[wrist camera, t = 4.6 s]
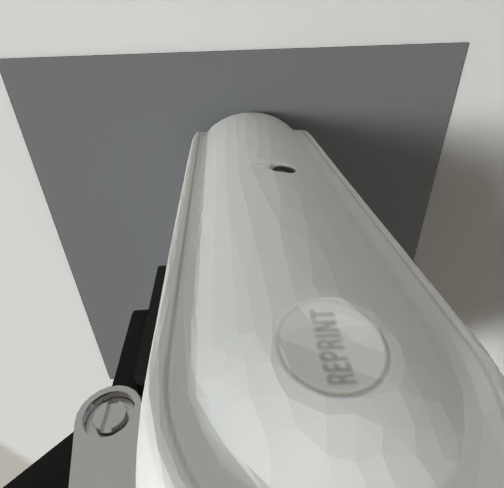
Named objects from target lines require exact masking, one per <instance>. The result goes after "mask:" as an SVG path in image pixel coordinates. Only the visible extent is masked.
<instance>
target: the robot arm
mask: <svg viewBox="0 0 504 488" xmlns="http://www.w3.org/2000/svg"><path fill="white" fill-rule="evenodd" d="M166 267H167V265H164V266H158V269H157V273H156V278H155V282H154V287H153V291H152V296H151V300H150V305H149V309H145V310H134V311H133V313H132V316H131V319H130V323H129V326H128V330H127V334H126V337H125V341H124V345H123V348H122V352H121V356H120V359H119V363H118V367H117V370H116V374H115V378H114V381H113V385H112V386H111V387H107V388H105V389H102V390H100V391H98V392H96V393H95V394H93V395H92V396H90V397H89V398H88V399H87V400H86V401H85V402H84V404H83V405H82V406H81V408H80V410H79V411H78V413H77V416H76V420H75V425H74V432H73V433H71V434H70V435H69V436H68V437H66V438H65V439H64V440H63V441H61V442H60V443H59V444H58V445H56V446H55V447H54V448H52V449H51V450H50V451H49V452H47V453H46V454H45V455H44V456H42V457H41V458H40V459H39V460H37V461H36V462H35V463H34V464H32V465H31V466H30V467H28V468H27V469H26V470H25V471H23V472H22V473H21V474H20V475H18V476H17V477H16V478H15V479H13V480H12V481H11V482H10V483H8V484H7V485H6V486H4V487H3V488H136V456H137V440H138V430H139V420H140V410H141V402H142V396H143V391H144V385H145V380H146V374H147V368H148V363H149V357H150V352H151V346H152V341H153V336H154V331H155V326H156V321H157V315H158V310H159V305H160V300H161V294H162V289H163V284H164V278H165V273H166Z"/></svg>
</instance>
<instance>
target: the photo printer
mask: <svg viewBox="0 0 504 488" xmlns="http://www.w3.org/2000/svg"><path fill="white" fill-rule="evenodd" d="M136 488H504V376H503V375H502V373H501V372H500V370H499V369H498V367H497V366H496V364H495V363H494V361H493V360H492V358H491V357H490V355H489V354H488V352H487V351H486V350H485V348H484V347H483V346H482V344H481V343H480V342H479V341H478V339H477V338H476V337H475V336H474V334H473V333H472V332H471V331H470V330H469V328H468V327H467V326H466V325H465V324H464V323H463V321H462V320H461V319H460V318H459V317H458V315H457V314H456V313H455V312H454V311H453V309H452V308H451V307H450V306H449V305H448V303H447V302H446V301H445V300H444V299H443V297H442V296H441V295H440V294H439V292H438V291H437V290H436V289H435V288H434V286H433V285H432V284H431V283H430V282H429V280H428V279H427V278H426V277H425V275H424V274H423V273H422V272H421V271H420V270H419V268H418V267H417V266H416V265H415V264H414V262H413V261H412V260H411V258H410V257H409V256H408V254H407V253H406V252H405V250H404V249H403V248H402V247H401V246H400V244H399V243H398V242H397V241H396V240H395V238H394V237H393V236H392V235H391V234H390V232H389V231H388V230H387V229H386V227H385V226H384V225H383V224H382V223H381V221H380V220H379V219H378V218H377V216H376V215H375V214H374V213H373V212H372V210H371V209H370V208H369V207H368V205H367V204H366V203H365V202H364V201H363V199H362V198H361V197H360V196H359V194H358V193H357V192H356V191H355V189H354V188H353V187H352V186H351V184H350V183H349V182H348V181H347V180H346V178H345V177H344V176H343V175H342V173H341V172H340V171H339V170H338V168H337V167H336V166H335V165H334V163H333V162H332V161H331V160H330V158H329V157H328V156H327V155H326V153H325V152H324V151H323V149H322V148H321V147H320V146H319V144H318V143H317V142H316V141H315V139H314V138H313V137H312V136H311V135H310V134H309V133H308V132H307V131H305V130H293V129H291V128H290V127H289V126H288V125H287V124H286V123H284V122H283V121H281V120H280V119H278V118H276V117H274V116H271V115H267V114H263V113H255V112H249V113H239V114H235V115H232V116H229V117H227V118H225V119H223V120H221V121H219V122H218V123H216V124H214V125H213V126H212V127H211V128H210V130H209V131H207V132H197V133H196V134H195V136H194V138H193V140H192V143H191V148H190V152H189V156H188V161H187V166H186V171H185V177H184V182H183V186H182V191H181V196H180V201H179V206H178V211H177V216H176V221H175V226H174V231H173V236H172V241H171V246H170V252H169V257H168V262H167V267H166V273H165V278H164V284H163V289H162V294H161V300H160V305H159V310H158V315H157V321H156V326H155V331H154V336H153V341H152V346H151V352H150V357H149V363H148V368H147V374H146V380H145V385H144V391H143V396H142V402H141V410H140V420H139V430H138V440H137V456H136Z"/></svg>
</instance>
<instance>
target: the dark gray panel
mask: <svg viewBox="0 0 504 488" xmlns="http://www.w3.org/2000/svg"><path fill="white" fill-rule="evenodd" d="M467 47H468V42H462V43H434V44H405V45H377V46H349V47H320V48H292V49H263V50H235V51H207V52H178V53H150V54H121V55H93V56H65V57H36V58H8V59H0V73H1V76H2V79H3V81H4V84H5V87H6V90H7V93H8V95H9V98H10V101H11V104H12V106H13V109H14V112H15V115H16V118H17V120H18V123H19V126H20V129H21V132H22V134H23V137H24V140H25V143H26V146H27V148H28V151H29V154H30V157H31V159H32V162H33V165H34V168H35V171H36V173H37V176H38V179H39V182H40V185H41V187H42V190H43V193H44V196H45V199H46V201H47V204H48V207H49V210H50V212H51V215H52V218H53V221H54V224H55V226H56V229H57V232H58V235H59V238H60V240H61V243H62V246H63V249H64V252H65V254H66V257H67V260H68V263H69V265H70V268H71V271H72V274H73V277H74V279H75V282H76V285H77V288H78V291H79V293H80V296H81V299H82V302H83V305H84V307H85V310H86V313H87V316H88V318H89V321H90V324H91V327H92V330H93V332H94V335H95V338H96V341H97V344H98V346H99V349H100V352H101V355H102V358H103V360H104V363H105V366H106V369H107V372H108V374H109V377H110V379H114V378H115V374H116V370H117V367H118V363H119V359H120V356H121V352H122V348H123V345H124V341H125V337H126V334H127V330H128V326H129V323H130V319H131V316H132V313H133V311H134V310H145V309H149V305H150V300H151V296H152V291H153V287H154V282H155V278H156V273H157V269H158V266H164V265H167V262H168V257H169V252H170V246H171V241H172V236H173V231H174V226H175V221H176V216H177V211H178V206H179V201H180V196H181V191H182V186H183V182H184V177H185V171H186V166H187V161H188V156H189V152H190V148H191V143H192V140H193V138H194V136H195V134H196V133H197V132H207V131H209V130H210V128H211V127H212V126H213V125H214V124H216V123H218V122H219V121H221V120H223V119H225V118H227V117H229V116H232V115H235V114H239V113H249V112H255V113H263V114H267V115H271V116H274V117H276V118H278V119H280V120H281V121H283V122H284V123H286V124H287V125H288V126H289V127H290V128H291V129H293V130H305V131H307V132H308V133H309V134H310V135H311V136H312V137H313V138H314V139H315V141H316V142H317V143H318V144H319V146H320V147H321V148H322V149H323V151H324V152H325V153H326V155H327V156H328V157H329V158H330V160H331V161H332V162H333V163H334V165H335V166H336V167H337V168H338V170H339V171H340V172H341V173H342V175H343V176H344V177H345V178H346V180H347V181H348V182H349V183H350V184H351V186H352V187H353V188H354V189H355V191H356V192H357V193H358V194H359V196H360V197H361V198H362V199H363V201H364V202H365V203H366V204H367V205H368V207H369V208H370V209H371V210H372V212H373V213H374V214H375V215H376V216H377V218H378V219H379V220H380V221H381V223H382V224H383V225H384V226H385V227H386V229H387V230H388V231H389V232H390V234H391V235H392V236H393V237H394V238H395V240H396V241H397V242H398V243H399V244H400V246H401V247H402V248H403V249H404V250H405V252H406V253H407V254H408V256H409V257H410V258H411V260H412V261H413V258H414V254H415V250H416V246H417V243H418V239H419V235H420V231H421V227H422V223H423V219H424V215H425V211H426V207H427V204H428V200H429V196H430V192H431V188H432V184H433V180H434V176H435V172H436V168H437V164H438V161H439V157H440V153H441V149H442V145H443V141H444V137H445V133H446V129H447V125H448V122H449V118H450V114H451V110H452V106H453V102H454V98H455V94H456V90H457V86H458V82H459V79H460V75H461V71H462V67H463V63H464V59H465V55H466V51H467Z"/></svg>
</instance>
